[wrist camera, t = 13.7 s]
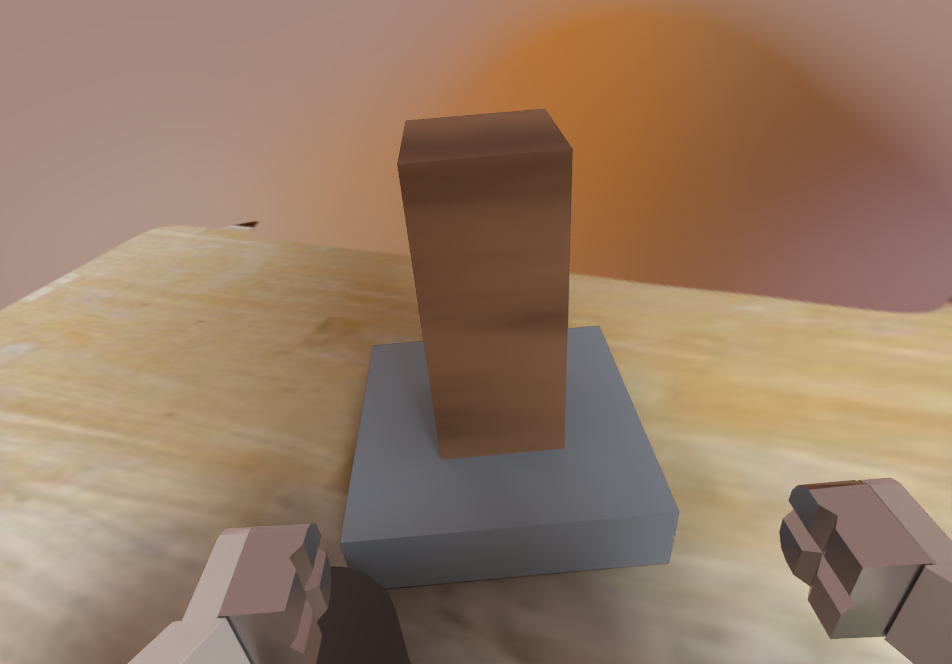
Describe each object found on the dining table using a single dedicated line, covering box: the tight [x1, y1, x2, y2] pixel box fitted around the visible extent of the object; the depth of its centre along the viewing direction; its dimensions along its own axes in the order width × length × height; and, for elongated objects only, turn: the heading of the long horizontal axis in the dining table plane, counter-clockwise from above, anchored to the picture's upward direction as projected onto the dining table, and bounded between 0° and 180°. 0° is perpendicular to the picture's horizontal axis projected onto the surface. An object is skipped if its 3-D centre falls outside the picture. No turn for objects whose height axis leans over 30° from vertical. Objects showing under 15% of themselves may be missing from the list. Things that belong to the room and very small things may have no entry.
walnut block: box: [397, 109, 573, 460], centre depth 21 cm, size 5×5×12 cm
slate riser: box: [340, 326, 679, 589], centre depth 26 cm, size 12×12×3 cm
